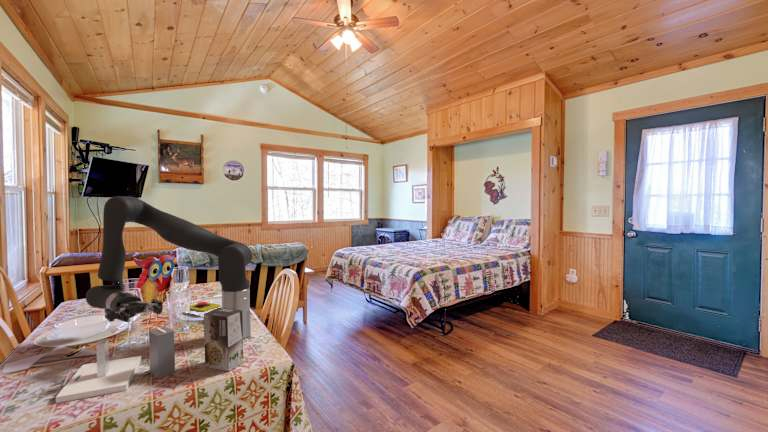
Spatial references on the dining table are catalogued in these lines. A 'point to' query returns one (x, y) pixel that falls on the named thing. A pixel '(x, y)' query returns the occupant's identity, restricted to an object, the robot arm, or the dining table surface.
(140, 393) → the dining table surface
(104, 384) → the shaft base
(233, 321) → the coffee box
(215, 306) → the emergency button
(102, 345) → the post
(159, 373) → the tall gray prism
